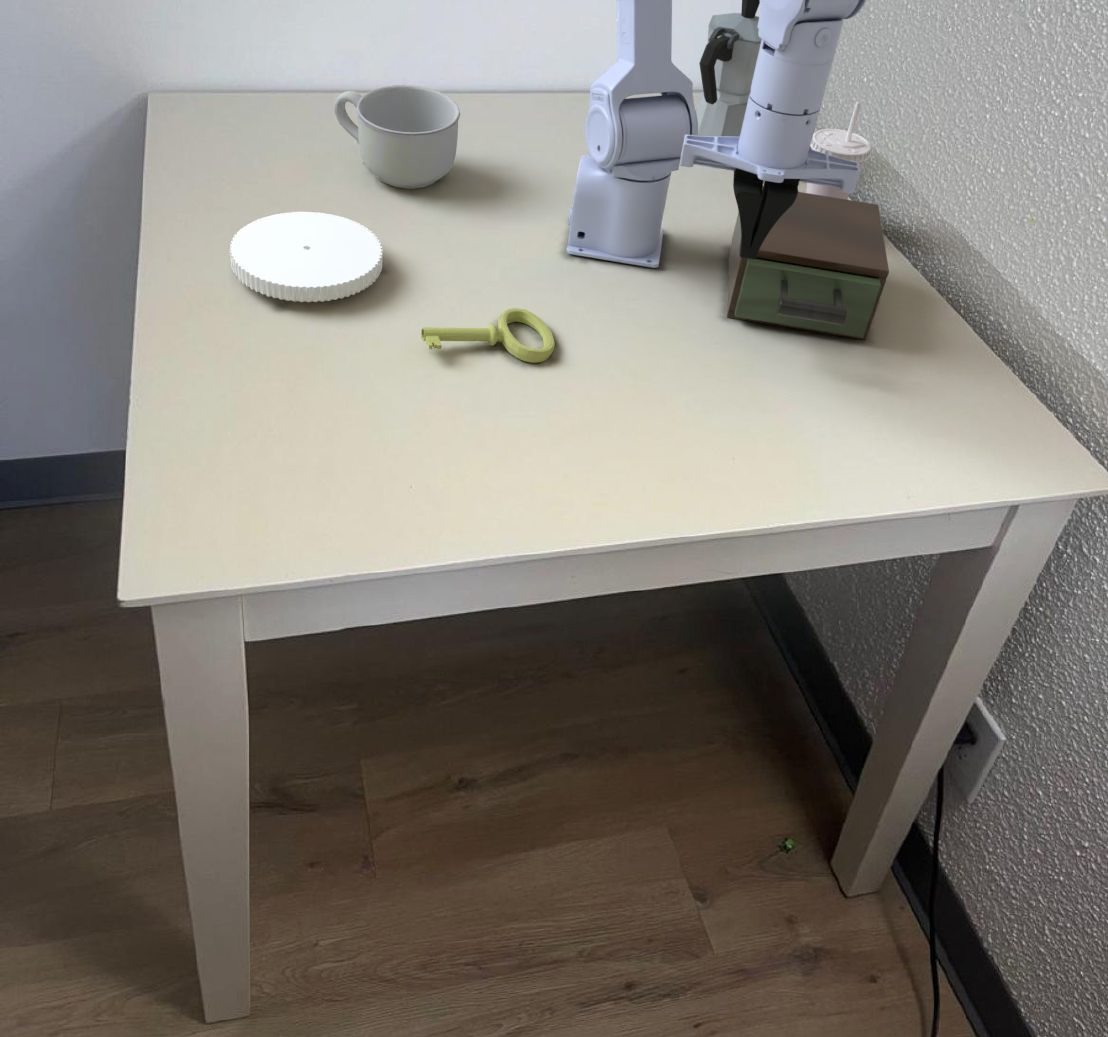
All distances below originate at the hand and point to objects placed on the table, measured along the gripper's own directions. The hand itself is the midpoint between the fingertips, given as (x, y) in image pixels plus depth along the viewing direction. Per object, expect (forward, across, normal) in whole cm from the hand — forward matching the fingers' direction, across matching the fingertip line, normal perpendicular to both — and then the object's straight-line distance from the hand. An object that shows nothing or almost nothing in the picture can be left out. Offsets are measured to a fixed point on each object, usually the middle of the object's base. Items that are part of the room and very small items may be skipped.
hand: (747, 252), depth 102 cm
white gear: (+11, -40, +2) cm, 41 cm away
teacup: (+11, -37, +25) cm, 46 cm away
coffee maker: (+11, -2, +44) cm, 45 cm away
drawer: (+10, +7, +9) cm, 15 cm away
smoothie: (+11, +10, +29) cm, 32 cm away
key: (+11, -21, -5) cm, 24 cm away
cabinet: (+10, +7, +13) cm, 18 cm away
